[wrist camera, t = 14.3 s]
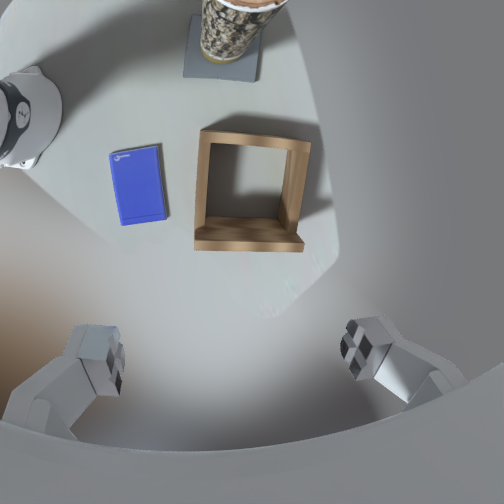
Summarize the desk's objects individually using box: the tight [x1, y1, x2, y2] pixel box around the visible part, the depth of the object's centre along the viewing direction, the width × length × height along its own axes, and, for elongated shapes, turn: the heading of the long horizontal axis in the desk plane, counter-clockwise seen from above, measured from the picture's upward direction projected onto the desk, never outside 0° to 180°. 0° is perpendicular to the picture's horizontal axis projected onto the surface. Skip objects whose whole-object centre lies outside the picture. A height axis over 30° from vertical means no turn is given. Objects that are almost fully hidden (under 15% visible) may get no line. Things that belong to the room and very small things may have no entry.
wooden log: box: [200, 0, 288, 64], centre depth 24 cm, size 7×7×25 cm
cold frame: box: [194, 130, 311, 252], centre depth 42 cm, size 16×16×10 cm
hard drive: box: [109, 146, 167, 226], centre depth 43 cm, size 2×8×12 cm
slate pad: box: [183, 15, 261, 83], centre depth 35 cm, size 11×11×1 cm
